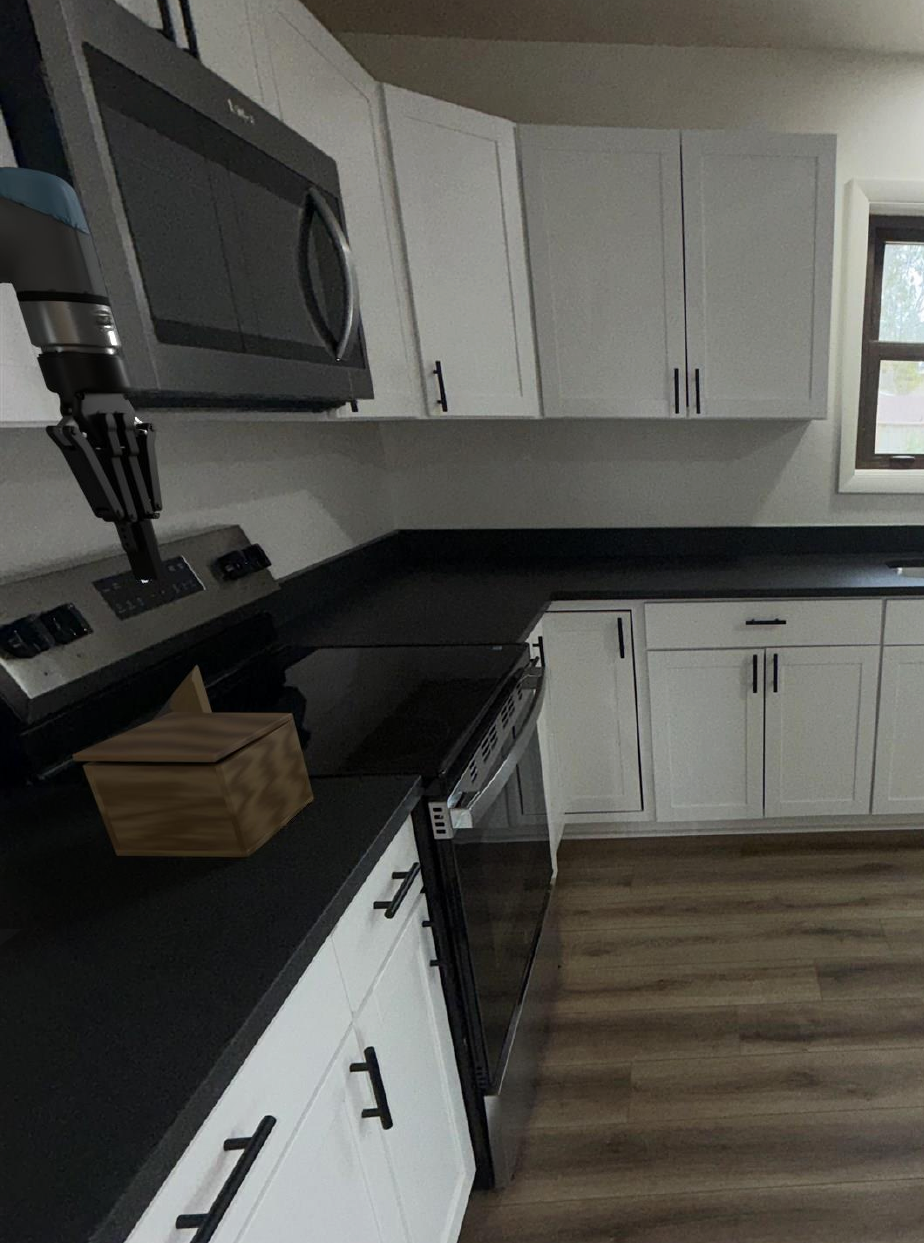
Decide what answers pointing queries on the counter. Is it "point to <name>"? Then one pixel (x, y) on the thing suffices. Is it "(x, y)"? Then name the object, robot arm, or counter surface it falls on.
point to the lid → (185, 737)
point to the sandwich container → (188, 696)
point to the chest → (203, 799)
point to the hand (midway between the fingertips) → (150, 578)
